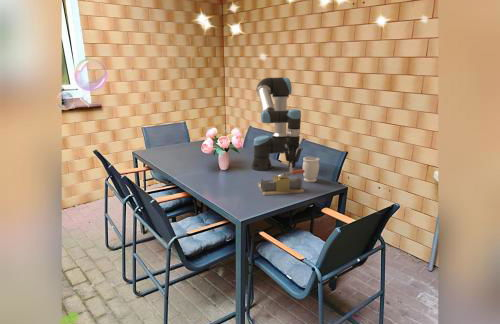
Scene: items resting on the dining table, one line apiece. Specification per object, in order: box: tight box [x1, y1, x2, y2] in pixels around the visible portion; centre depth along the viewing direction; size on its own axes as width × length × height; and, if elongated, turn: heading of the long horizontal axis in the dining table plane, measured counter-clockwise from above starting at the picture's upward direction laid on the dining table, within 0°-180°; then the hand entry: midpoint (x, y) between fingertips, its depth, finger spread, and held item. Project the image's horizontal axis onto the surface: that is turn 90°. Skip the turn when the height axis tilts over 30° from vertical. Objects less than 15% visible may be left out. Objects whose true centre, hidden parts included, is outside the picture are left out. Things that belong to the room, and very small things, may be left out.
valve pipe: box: [260, 175, 303, 192], centre depth 214 cm, size 8×24×8 cm, turn 100°
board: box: [257, 182, 305, 196], centre depth 219 cm, size 18×25×1 cm
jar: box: [302, 156, 320, 183], centre depth 231 cm, size 11×10×15 cm
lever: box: [277, 168, 304, 178], centre depth 215 cm, size 18×4×2 cm, turn 118°
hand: (291, 172), depth 218 cm, fingers closed
